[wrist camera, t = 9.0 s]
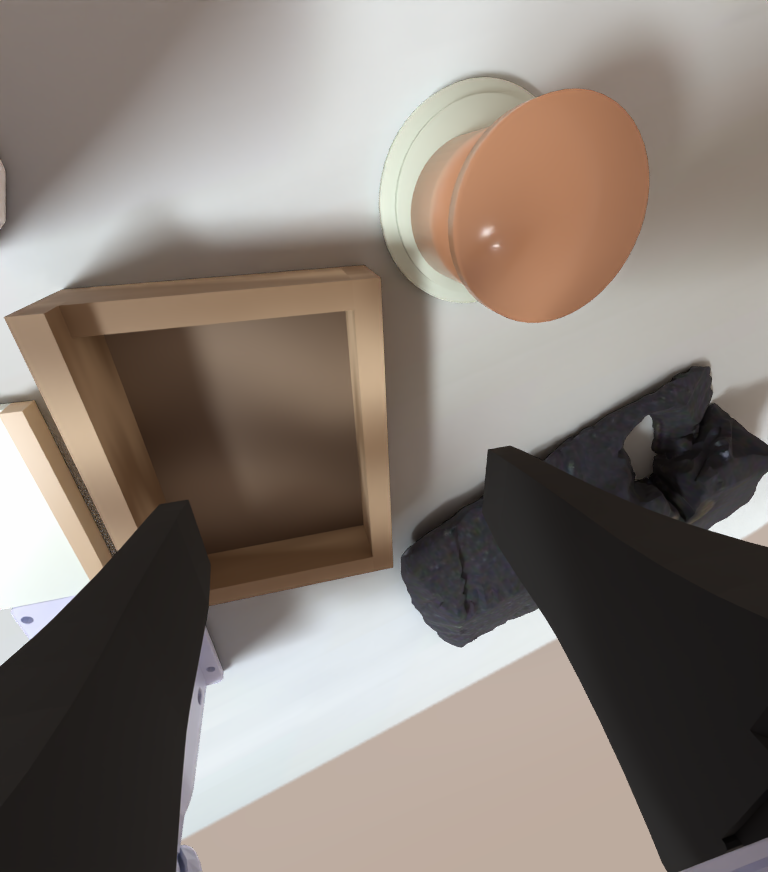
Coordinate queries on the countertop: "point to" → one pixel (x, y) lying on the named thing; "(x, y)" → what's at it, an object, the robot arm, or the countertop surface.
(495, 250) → the tan bell-shaped knob
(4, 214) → the white cup
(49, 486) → the frame lid
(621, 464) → the dark slate chunk
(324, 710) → the countertop surface
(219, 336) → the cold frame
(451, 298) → the saucer
